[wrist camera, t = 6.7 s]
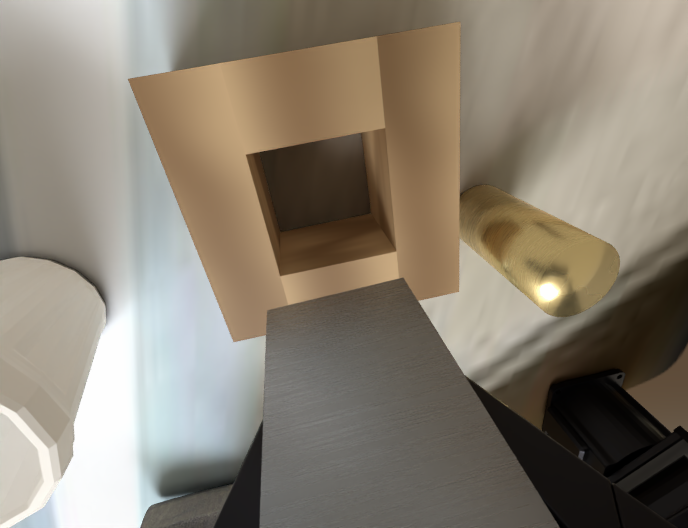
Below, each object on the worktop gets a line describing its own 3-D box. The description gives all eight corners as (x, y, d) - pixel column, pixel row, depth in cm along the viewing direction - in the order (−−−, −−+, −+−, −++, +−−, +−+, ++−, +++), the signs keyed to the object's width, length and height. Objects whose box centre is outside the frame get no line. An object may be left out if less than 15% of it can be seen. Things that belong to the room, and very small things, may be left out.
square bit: (403, 277, 9) (797, 906, 2) (413, 374, 11) (649, 891, 4) (267, 310, 9) (239, 1120, 2) (299, 403, 11) (344, 1005, 4)
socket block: (411, 36, 16) (460, 21, 12) (422, 248, 22) (458, 291, 17) (170, 78, 16) (127, 79, 11) (243, 286, 21) (233, 342, 16)
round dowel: (507, 178, 20) (628, 231, 13) (504, 233, 22) (610, 305, 15) (449, 191, 20) (542, 252, 13) (450, 246, 22) (533, 325, 15)
